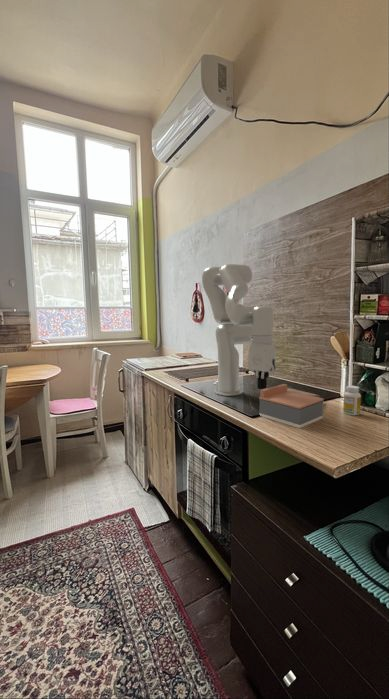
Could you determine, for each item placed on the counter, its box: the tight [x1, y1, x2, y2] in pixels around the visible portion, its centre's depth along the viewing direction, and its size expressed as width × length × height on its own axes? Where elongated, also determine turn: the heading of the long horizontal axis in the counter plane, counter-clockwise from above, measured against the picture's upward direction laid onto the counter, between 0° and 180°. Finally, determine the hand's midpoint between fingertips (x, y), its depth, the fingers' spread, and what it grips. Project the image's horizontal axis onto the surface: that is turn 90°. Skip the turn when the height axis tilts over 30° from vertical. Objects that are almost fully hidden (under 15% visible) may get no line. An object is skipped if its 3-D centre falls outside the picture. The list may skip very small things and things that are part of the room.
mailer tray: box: [258, 399, 324, 429], centre depth 108 cm, size 16×14×6 cm
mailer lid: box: [258, 383, 325, 409], centre depth 107 cm, size 16×15×3 cm
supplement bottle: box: [342, 385, 362, 416], centre depth 111 cm, size 5×5×10 cm
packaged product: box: [287, 387, 326, 406], centre depth 127 cm, size 18×5×10 cm
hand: (261, 388), depth 117 cm, fingers closed
